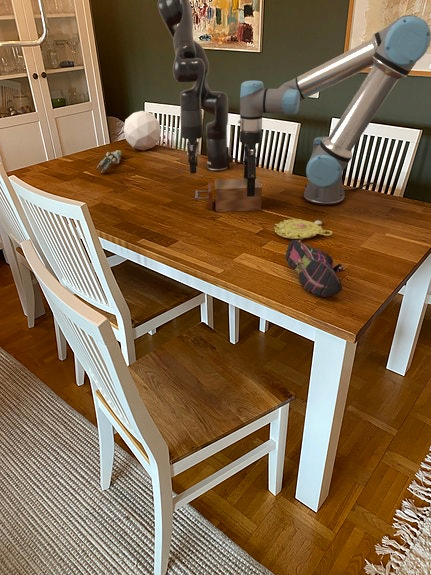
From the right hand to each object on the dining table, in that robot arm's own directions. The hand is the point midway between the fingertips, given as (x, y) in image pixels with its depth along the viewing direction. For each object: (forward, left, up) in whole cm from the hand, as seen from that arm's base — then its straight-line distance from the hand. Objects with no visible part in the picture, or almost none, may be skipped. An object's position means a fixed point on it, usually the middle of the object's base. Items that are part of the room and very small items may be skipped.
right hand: (248, 189), depth 164 cm
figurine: (+54, -64, -6) cm, 84 cm away
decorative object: (-12, +27, -6) cm, 30 cm away
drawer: (+10, -1, -5) cm, 11 cm away
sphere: (+37, -90, -6) cm, 98 cm away
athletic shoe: (-7, +57, -6) cm, 57 cm away
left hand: (+20, -4, +8) cm, 21 cm away
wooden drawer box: (+4, 0, -6) cm, 8 cm away
